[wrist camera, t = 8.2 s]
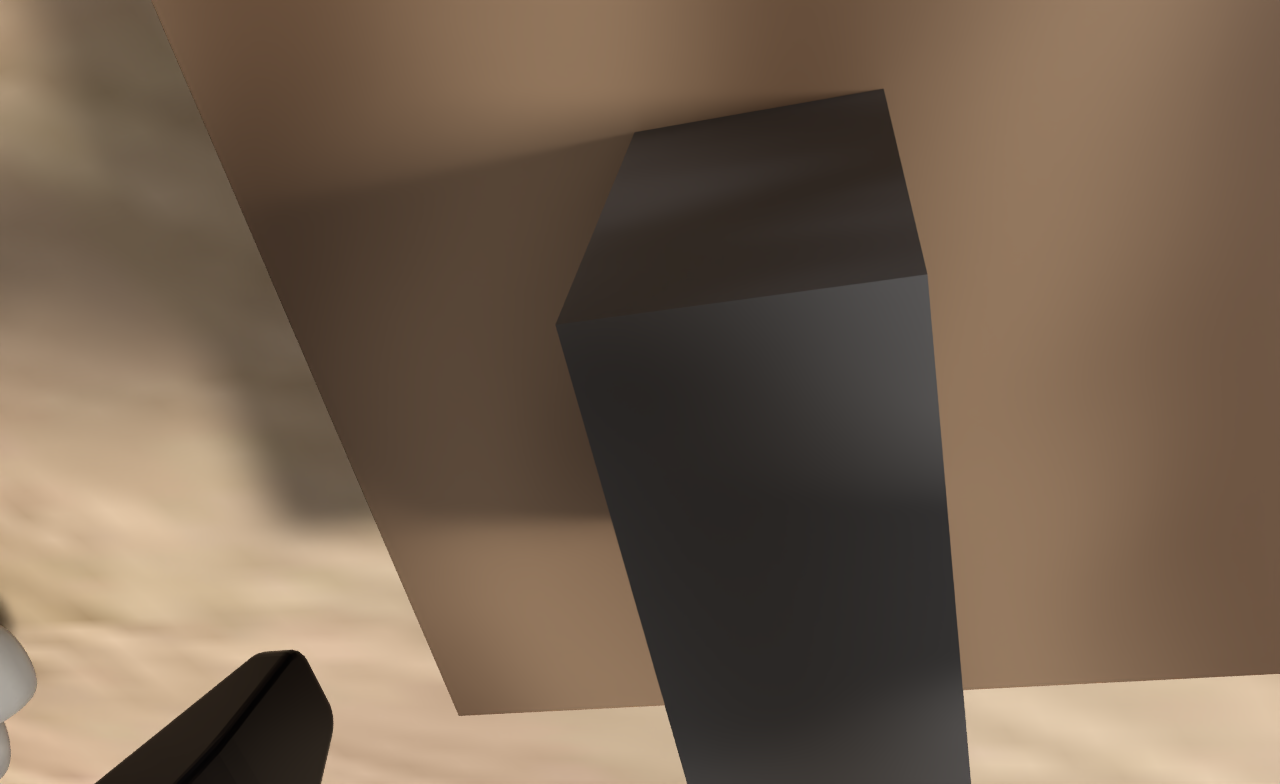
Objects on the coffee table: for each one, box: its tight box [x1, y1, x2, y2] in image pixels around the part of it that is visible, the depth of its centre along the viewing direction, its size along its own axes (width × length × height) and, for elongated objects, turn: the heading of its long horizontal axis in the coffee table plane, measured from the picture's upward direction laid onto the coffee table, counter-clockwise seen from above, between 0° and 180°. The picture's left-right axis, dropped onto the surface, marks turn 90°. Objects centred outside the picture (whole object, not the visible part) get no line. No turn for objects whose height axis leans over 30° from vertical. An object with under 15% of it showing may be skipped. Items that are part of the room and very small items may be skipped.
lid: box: [151, 0, 1280, 784], centre depth 12 cm, size 14×14×6 cm
